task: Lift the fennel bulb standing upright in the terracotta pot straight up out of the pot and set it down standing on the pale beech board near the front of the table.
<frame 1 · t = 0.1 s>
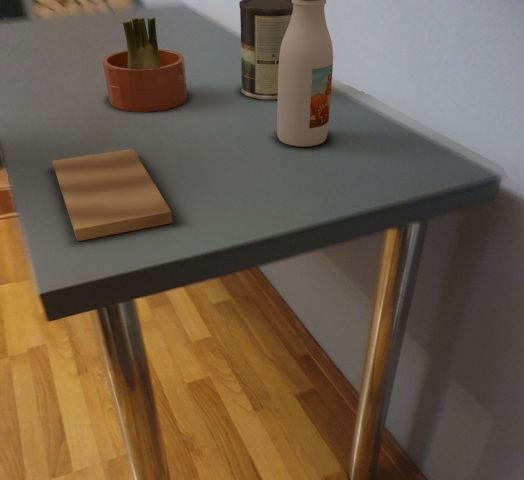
board: (109, 195, 69), on the table
coffee can: (268, 92, 101), on the table
milk bottle: (301, 139, 84), on the table
fennel bulb: (148, 96, 97), resting on pot
pot: (148, 98, 97), on the table
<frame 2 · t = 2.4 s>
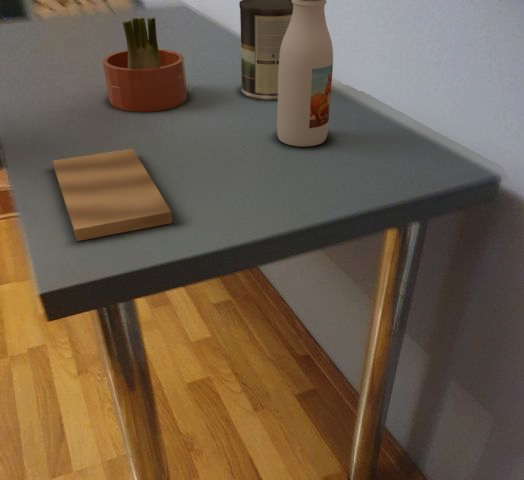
nothing on the table moved.
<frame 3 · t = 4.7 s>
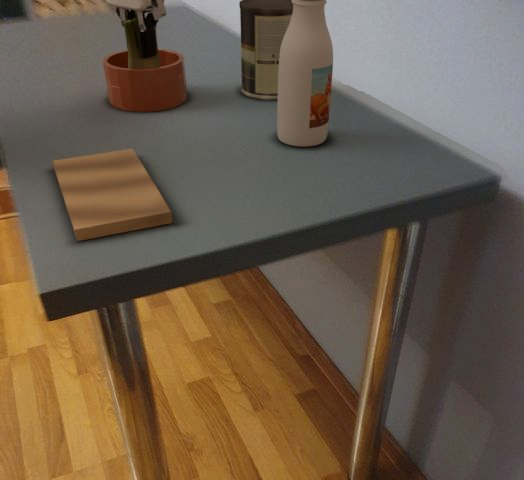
hand: (142, 54, 92), 7 cm above the table, tool pointing down, fingers closed on fennel bulb
fennel bulb: (148, 96, 97), resting on pot, touching gripper
everything else where it was.
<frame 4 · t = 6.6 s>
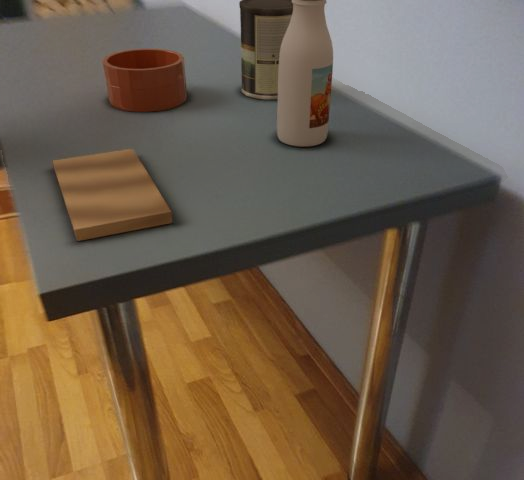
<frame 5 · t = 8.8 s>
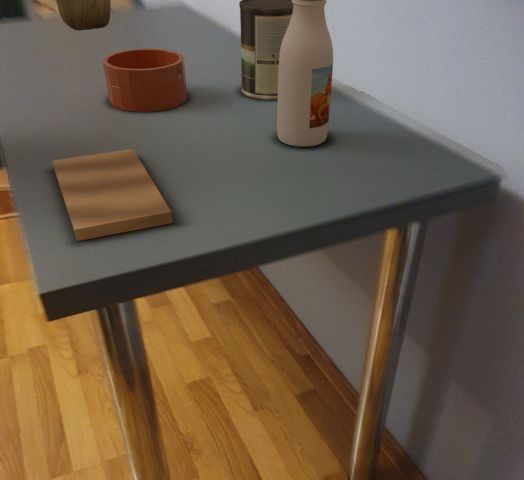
fennel bulb: (89, 31, 62), point 17 cm above the table, touching gripper
everything else where it was.
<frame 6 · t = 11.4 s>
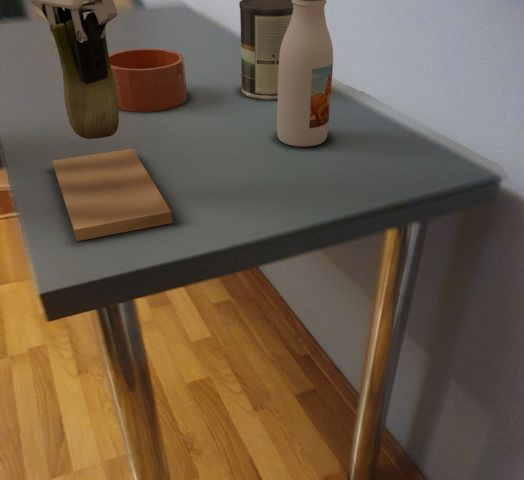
hand: (86, 76, 60), 14 cm above the table, tool pointing down, fingers closed on fennel bulb
fennel bulb: (99, 138, 64), point 7 cm above the table, touching gripper
everything else where it was.
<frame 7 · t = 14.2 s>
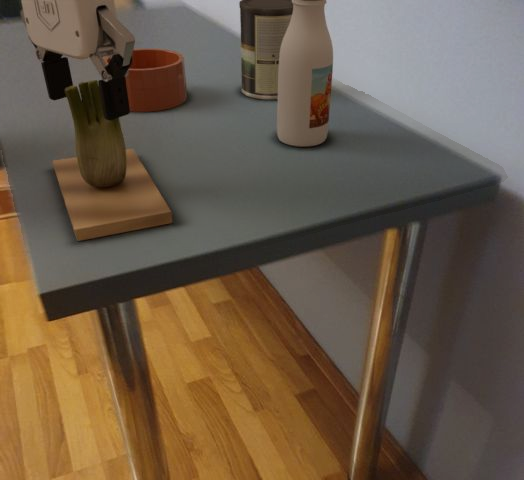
hand: (89, 106, 62), 11 cm above the table, tool pointing down, fingers open, 9 cm apart
fennel bulb: (107, 185, 68), point 1 cm above the table, touching board
everything else where it was.
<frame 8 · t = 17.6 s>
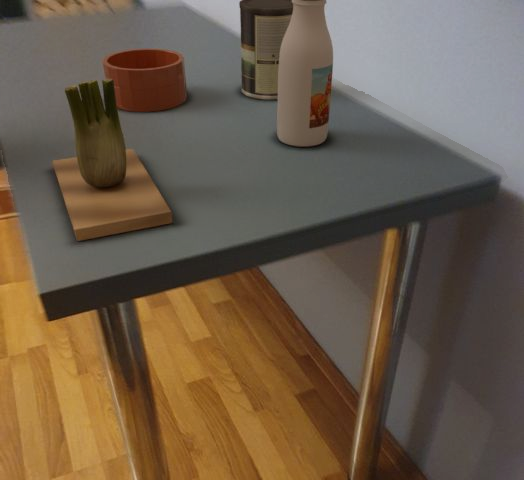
nothing on the table moved.
at the end: fennel bulb inside the target area on the board (0.1 cm from its centre), point 1.3 cm above the board's base; fennel bulb tilted 0° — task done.
